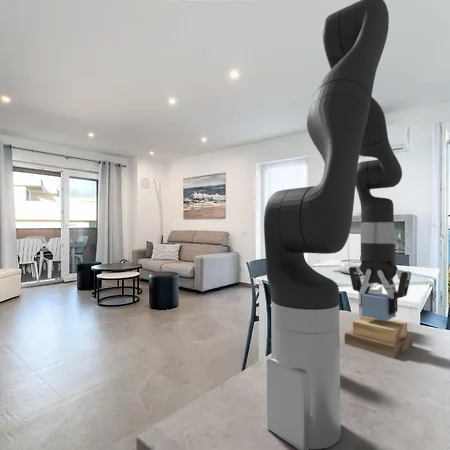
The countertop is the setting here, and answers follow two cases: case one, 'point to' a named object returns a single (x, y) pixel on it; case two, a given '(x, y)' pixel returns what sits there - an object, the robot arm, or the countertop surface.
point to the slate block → (376, 306)
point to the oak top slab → (380, 329)
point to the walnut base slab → (379, 344)
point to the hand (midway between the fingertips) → (378, 311)
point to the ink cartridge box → (373, 289)
